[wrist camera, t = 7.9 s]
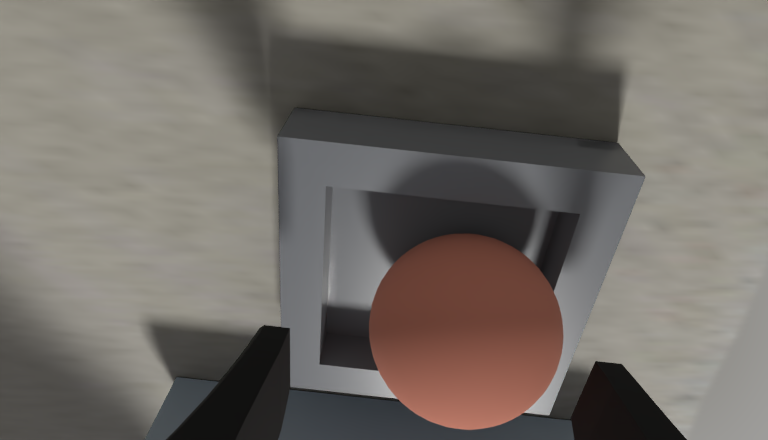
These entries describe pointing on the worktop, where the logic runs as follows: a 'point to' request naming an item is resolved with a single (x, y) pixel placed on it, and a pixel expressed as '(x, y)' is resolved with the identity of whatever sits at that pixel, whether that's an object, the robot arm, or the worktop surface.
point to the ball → (466, 331)
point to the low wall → (353, 419)
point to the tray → (432, 224)
